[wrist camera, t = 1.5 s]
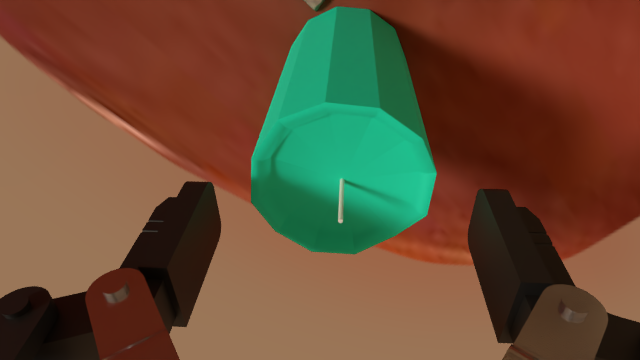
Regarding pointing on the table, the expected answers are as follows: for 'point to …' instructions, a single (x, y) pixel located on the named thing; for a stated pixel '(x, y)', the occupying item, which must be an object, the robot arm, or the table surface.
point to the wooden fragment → (314, 3)
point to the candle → (343, 138)
